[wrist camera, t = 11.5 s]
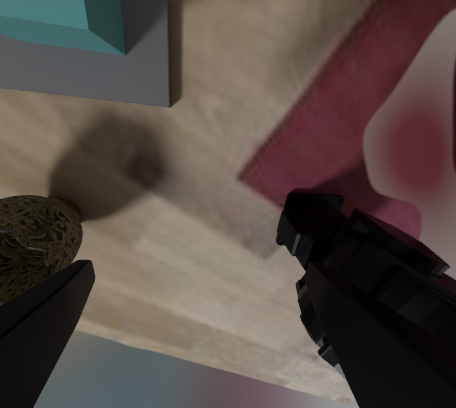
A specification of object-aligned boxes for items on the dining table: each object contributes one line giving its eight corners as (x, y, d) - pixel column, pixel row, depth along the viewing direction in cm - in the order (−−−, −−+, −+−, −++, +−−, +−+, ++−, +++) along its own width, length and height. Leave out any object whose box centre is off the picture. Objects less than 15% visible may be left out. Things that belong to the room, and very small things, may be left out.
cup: (19, 236, 19) (-89, 313, 12) (10, 164, 16) (-138, 208, 9) (104, 249, 21) (54, 322, 14) (109, 186, 18) (50, 237, 11)
